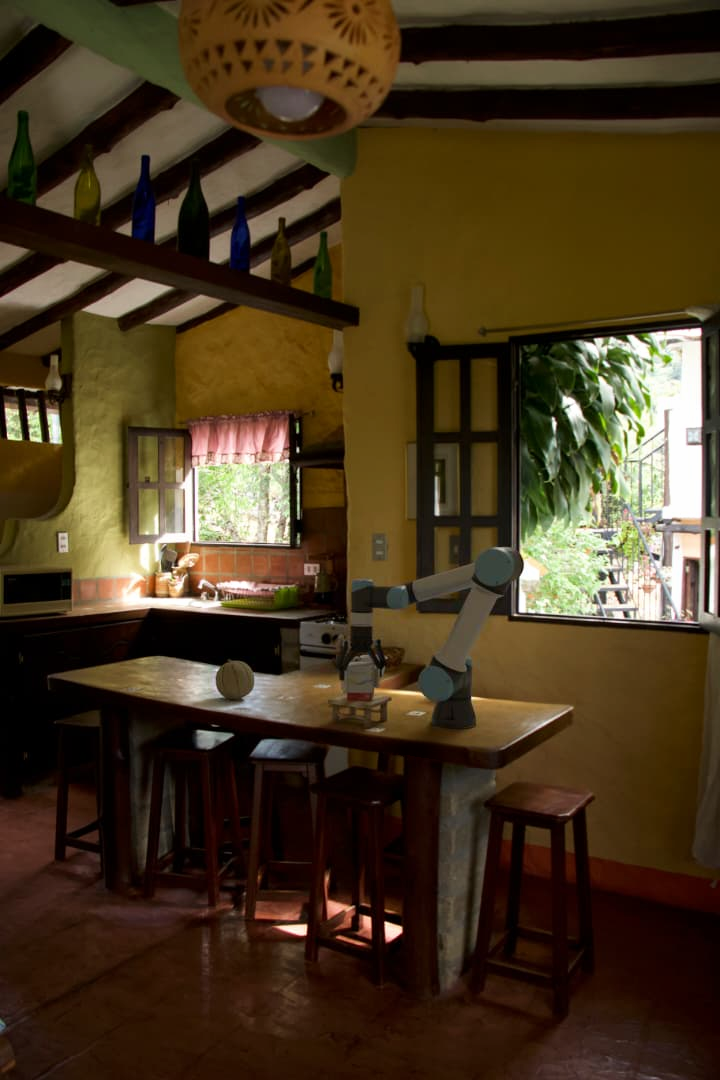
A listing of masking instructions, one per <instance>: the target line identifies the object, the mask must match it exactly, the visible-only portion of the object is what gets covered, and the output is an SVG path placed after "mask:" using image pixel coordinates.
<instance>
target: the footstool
mask: <svg viewBox="0 0 720 1080" xmlns="http://www.w3.org/2000/svg"><path fill="white" fill-rule="evenodd" d="M392 699H393V697H392V696H388V695H387V696H386V695H379V694H374V697H373V698H372V700H347V693H346V694H343V693H342V694H341V695H338V696H335V697H332V698H329V699H327V704H330V705H332V715H331V719H332V720H331V723H332V724H333V725H339V724H340V718H348V719H355V720H360V721H361V720H362V721H363V728H364V729H371V728H372V713H374V714H375V713H376V714H379V721H380V722H388V702H392ZM340 706H346V707H348V713H344V712H340V709H341V708H340ZM376 707H379V708H376ZM357 711H361V712H363V715H359V714H357Z"/></svg>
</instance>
